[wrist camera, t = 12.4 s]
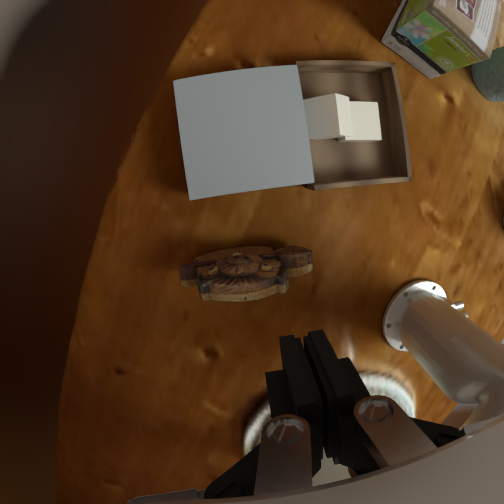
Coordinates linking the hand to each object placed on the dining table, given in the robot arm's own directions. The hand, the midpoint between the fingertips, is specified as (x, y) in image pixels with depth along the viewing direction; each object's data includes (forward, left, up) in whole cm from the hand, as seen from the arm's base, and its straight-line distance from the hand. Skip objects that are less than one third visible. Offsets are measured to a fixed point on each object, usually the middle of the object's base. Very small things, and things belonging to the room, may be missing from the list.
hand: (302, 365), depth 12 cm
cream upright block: (-9, -13, -27) cm, 31 cm away
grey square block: (0, -12, -31) cm, 33 cm away
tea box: (-30, -28, -31) cm, 52 cm away
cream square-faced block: (-15, -12, -28) cm, 33 cm away
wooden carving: (+2, +4, -31) cm, 32 cm away
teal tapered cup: (-44, -21, -31) cm, 58 cm away
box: (-14, -12, -31) cm, 36 cm away
